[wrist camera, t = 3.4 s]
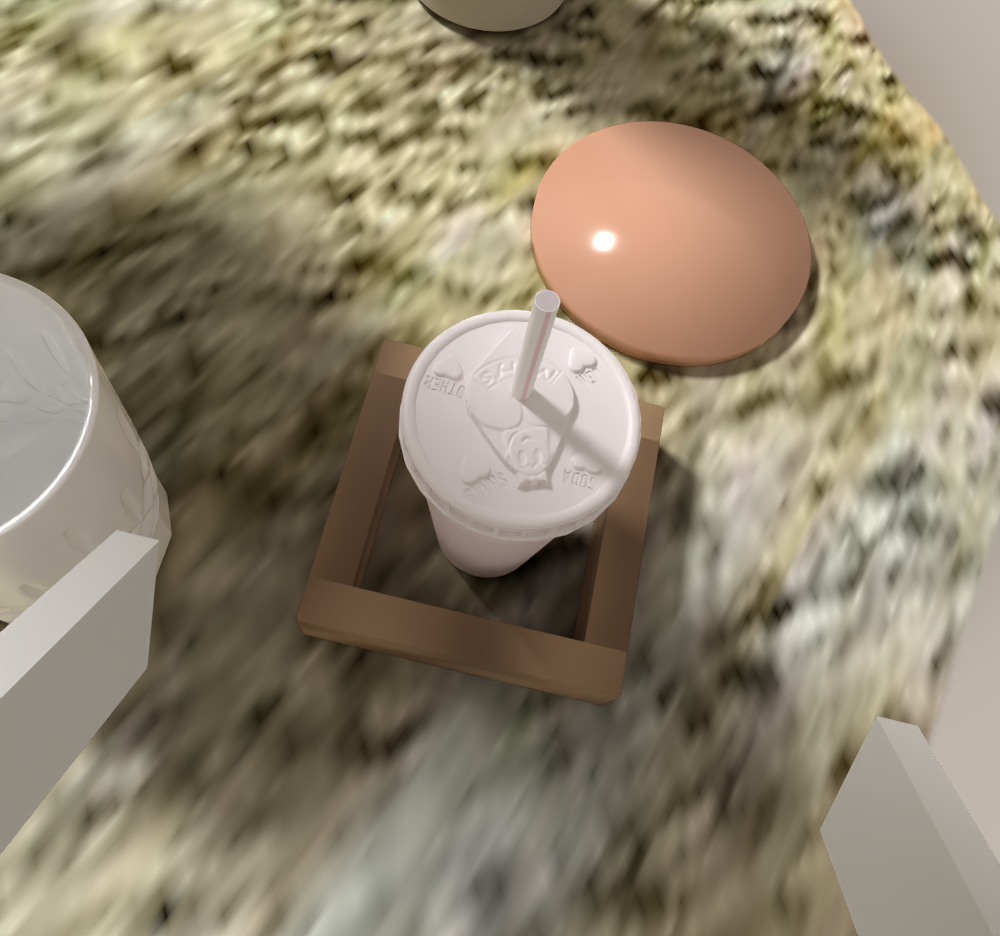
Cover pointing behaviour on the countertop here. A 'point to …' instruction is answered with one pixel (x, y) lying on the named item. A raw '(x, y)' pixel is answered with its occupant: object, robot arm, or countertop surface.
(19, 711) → the robot arm
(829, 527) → the countertop surface
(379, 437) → the brown square wooden frame
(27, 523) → the white cup
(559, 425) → the smoothie
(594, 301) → the coaster
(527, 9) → the travel mug
